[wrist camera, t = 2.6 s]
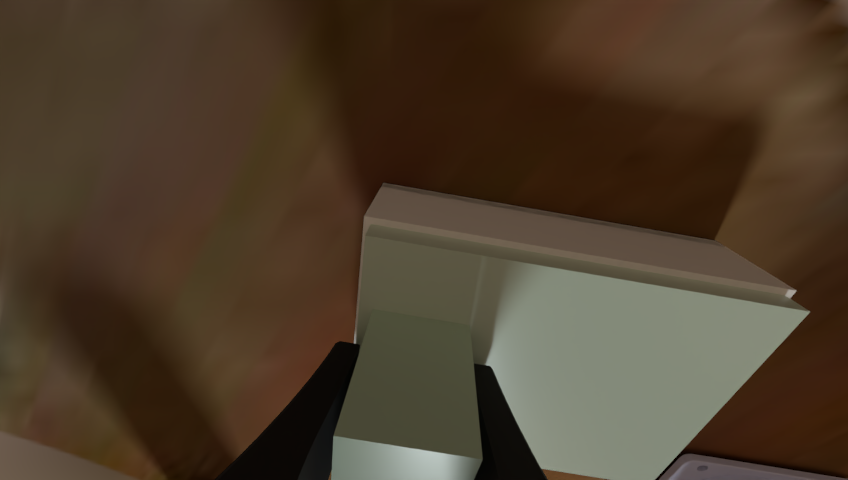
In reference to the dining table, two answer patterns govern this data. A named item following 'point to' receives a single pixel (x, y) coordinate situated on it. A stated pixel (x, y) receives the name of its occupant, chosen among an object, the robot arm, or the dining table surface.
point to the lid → (539, 358)
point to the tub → (563, 237)
